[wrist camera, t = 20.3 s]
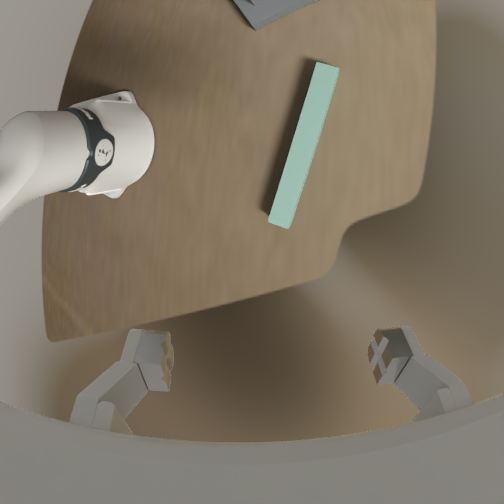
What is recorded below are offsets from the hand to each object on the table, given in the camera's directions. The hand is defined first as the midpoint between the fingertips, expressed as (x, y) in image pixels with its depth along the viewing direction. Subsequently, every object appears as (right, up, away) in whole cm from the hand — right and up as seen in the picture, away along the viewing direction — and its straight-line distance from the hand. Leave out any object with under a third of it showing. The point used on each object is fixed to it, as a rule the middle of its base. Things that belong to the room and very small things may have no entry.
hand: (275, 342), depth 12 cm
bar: (+6, +18, +30) cm, 35 cm away
